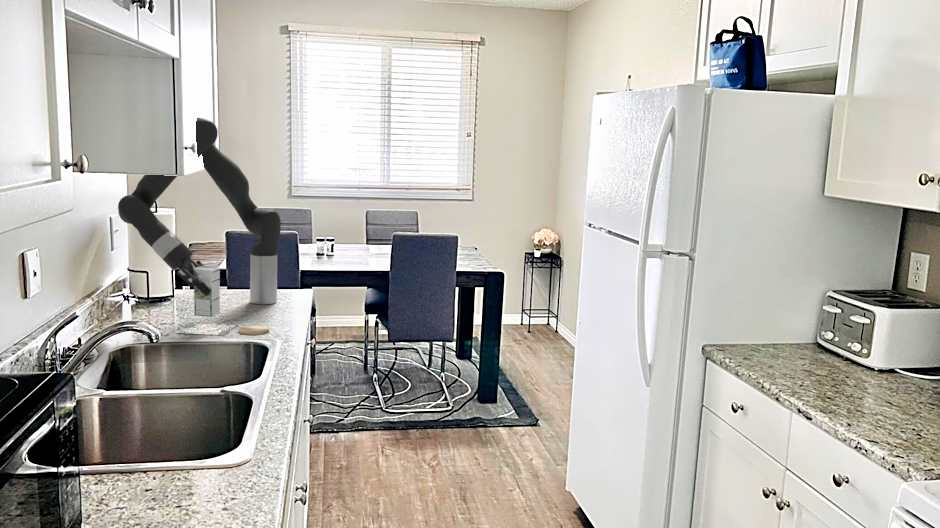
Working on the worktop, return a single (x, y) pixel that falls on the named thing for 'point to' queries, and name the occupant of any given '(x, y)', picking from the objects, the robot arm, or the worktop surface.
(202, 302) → the syrup box
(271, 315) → the worktop surface
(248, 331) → the cork coaster
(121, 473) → the worktop surface
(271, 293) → the robot arm
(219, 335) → the plaque
